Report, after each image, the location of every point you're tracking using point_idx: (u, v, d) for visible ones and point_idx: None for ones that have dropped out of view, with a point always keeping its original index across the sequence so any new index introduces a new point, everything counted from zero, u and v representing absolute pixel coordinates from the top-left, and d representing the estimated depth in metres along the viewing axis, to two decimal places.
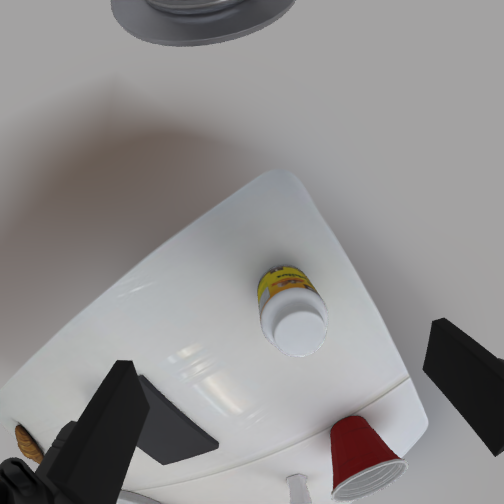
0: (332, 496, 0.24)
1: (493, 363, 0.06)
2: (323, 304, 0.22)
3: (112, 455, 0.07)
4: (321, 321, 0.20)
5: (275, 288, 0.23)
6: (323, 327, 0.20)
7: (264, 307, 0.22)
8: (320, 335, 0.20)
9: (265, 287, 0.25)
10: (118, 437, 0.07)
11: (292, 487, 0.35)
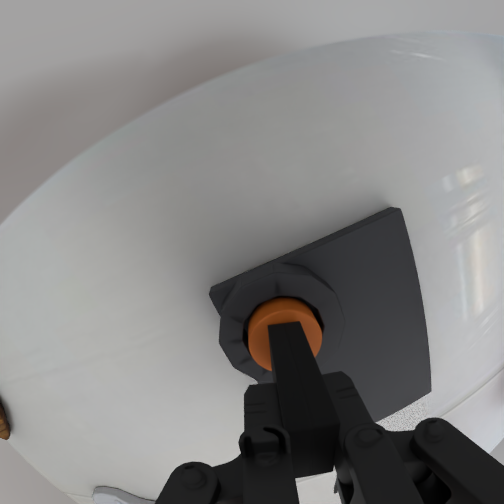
0: None
1: (309, 374, 0.09)
2: None
3: None
4: None
5: None
6: None
7: None
8: None
9: None
10: None
11: None
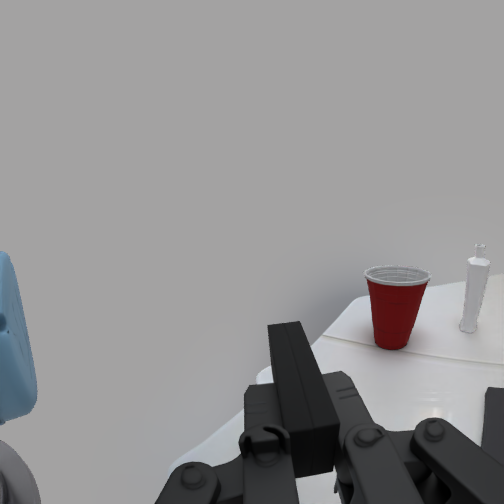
0: (425, 279, 0.33)
1: (309, 374, 0.09)
2: None
3: None
4: (261, 371, 0.23)
5: None
6: (266, 368, 0.23)
7: None
8: None
9: None
10: None
11: (472, 318, 0.36)
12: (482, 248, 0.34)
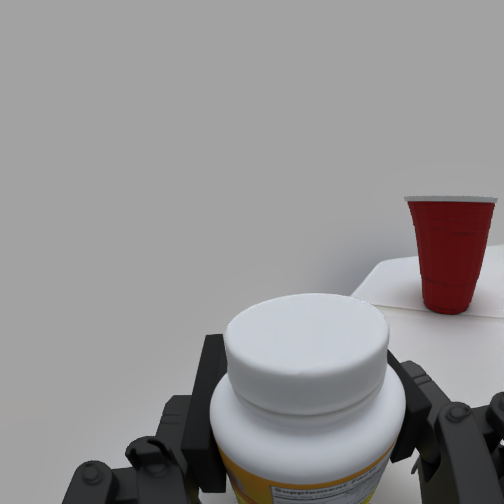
0: None
1: (389, 364, 0.08)
2: None
3: None
4: (246, 311, 0.08)
5: (251, 490, 0.05)
6: (261, 304, 0.08)
7: (307, 481, 0.04)
8: (285, 300, 0.08)
9: None
10: None
11: None
12: None
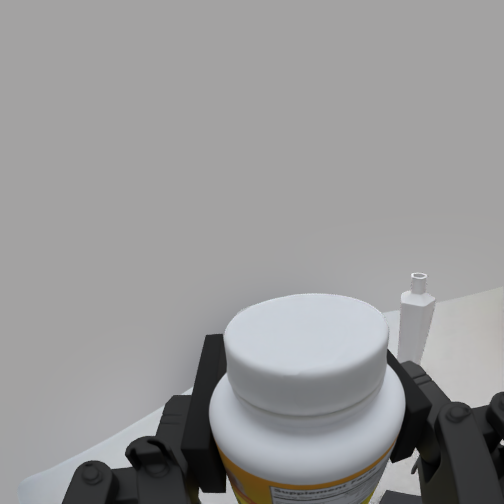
0: None
1: (388, 364, 0.08)
2: None
3: None
4: (245, 311, 0.08)
5: (250, 490, 0.05)
6: (261, 304, 0.08)
7: (306, 482, 0.04)
8: (285, 300, 0.08)
9: None
10: None
11: None
12: (420, 280, 0.27)
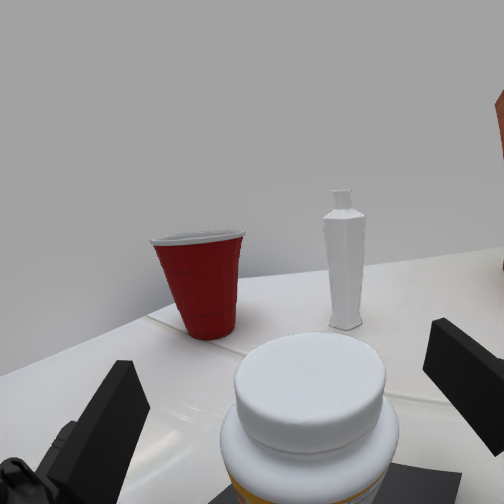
0: (211, 237, 0.27)
1: (493, 363, 0.06)
2: None
3: (112, 455, 0.07)
4: (253, 352, 0.08)
5: None
6: (267, 344, 0.08)
7: None
8: (289, 340, 0.08)
9: None
10: (118, 437, 0.07)
11: (343, 307, 0.29)
12: (341, 192, 0.27)
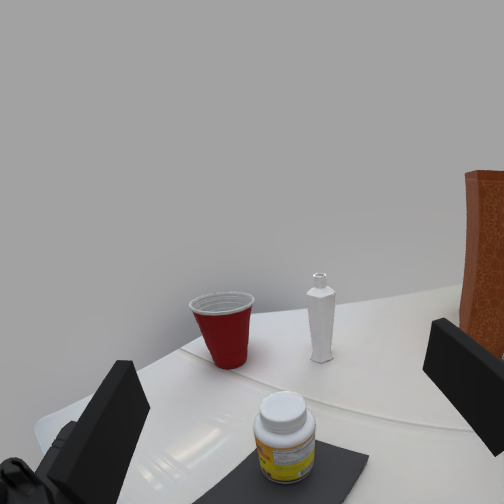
0: (233, 310, 0.41)
1: (493, 363, 0.06)
2: (260, 411, 0.23)
3: (112, 455, 0.07)
4: (264, 399, 0.22)
5: (266, 451, 0.20)
6: (269, 396, 0.23)
7: (282, 447, 0.19)
8: (277, 394, 0.23)
9: (277, 466, 0.20)
10: (118, 437, 0.07)
11: (319, 348, 0.44)
12: (319, 278, 0.42)
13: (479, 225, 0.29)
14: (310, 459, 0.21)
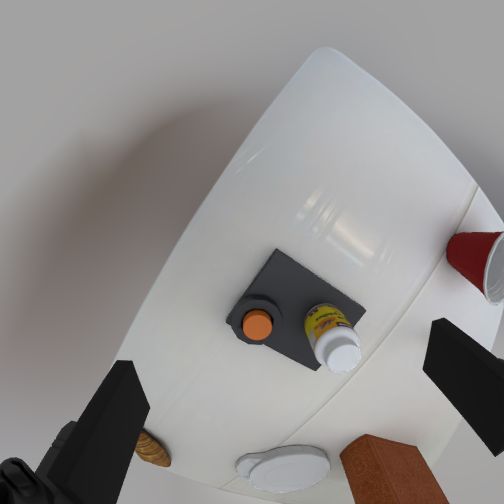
0: (485, 290, 0.27)
1: (493, 363, 0.06)
2: (353, 332, 0.30)
3: (112, 455, 0.07)
4: (354, 347, 0.28)
5: (317, 332, 0.31)
6: (357, 349, 0.28)
7: (315, 348, 0.30)
8: (357, 355, 0.28)
9: (310, 330, 0.34)
10: (118, 437, 0.07)
11: None
12: None
13: None
14: None
